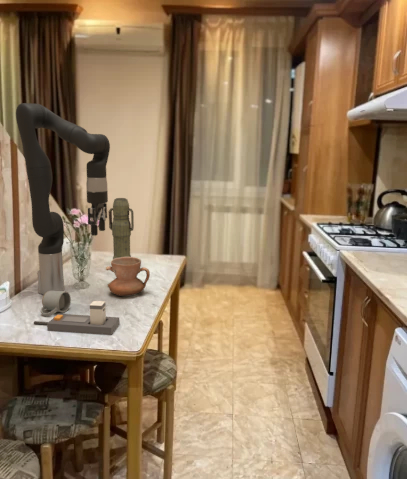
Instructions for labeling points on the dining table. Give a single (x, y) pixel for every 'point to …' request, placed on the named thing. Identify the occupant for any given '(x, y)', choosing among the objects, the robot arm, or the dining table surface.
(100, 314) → the block
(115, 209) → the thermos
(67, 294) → the ceramic mug
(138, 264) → the ceramic jug
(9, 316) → the dining table surface
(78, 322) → the power strip
